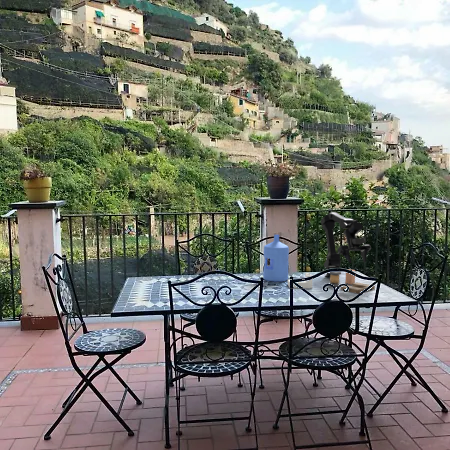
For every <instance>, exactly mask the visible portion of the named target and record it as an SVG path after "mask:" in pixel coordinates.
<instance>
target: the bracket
mask: <svg viewBox="0 0 450 450" xmlns="http://www.w3.org/2000/svg"><path fill="white" fill-rule="evenodd" d="M304 273H305V276H304V277H310V276H313V274H311V273H310V272H304ZM290 280H291V279H288V280H287V285H288V287H289V289H291V288H290ZM298 284H299V285H300V286H302V287H303V288H302V289H313V279H312V280H309V281H304V282H298ZM293 289H298V288H297V287H296V286H295V285H294V288H293Z"/></svg>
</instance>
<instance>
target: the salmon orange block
mask: <svg viewBox="0 0 450 450" xmlns="http://www.w3.org/2000/svg"><path fill="white" fill-rule="evenodd" d="M348 270H352V271H355V272H356V270H355V269H348ZM347 283H348V285H352V283H356V275H355V276H353V275H351V274H349V273H346V272H345V284H347Z"/></svg>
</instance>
